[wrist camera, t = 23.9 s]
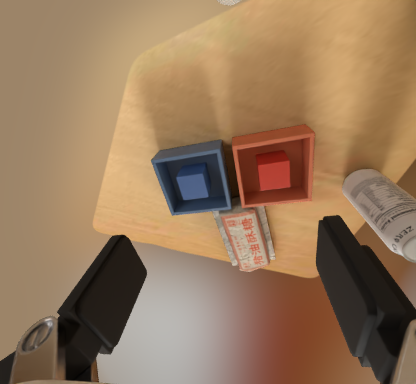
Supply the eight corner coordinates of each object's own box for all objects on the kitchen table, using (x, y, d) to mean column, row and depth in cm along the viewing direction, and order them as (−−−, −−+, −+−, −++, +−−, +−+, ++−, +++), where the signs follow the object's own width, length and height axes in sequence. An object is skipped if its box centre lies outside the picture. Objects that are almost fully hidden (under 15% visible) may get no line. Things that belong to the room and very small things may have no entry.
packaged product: (206, 216, 36) (263, 206, 34) (209, 201, 40) (260, 190, 38) (232, 278, 45) (279, 273, 42) (232, 260, 49) (275, 255, 47)
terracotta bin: (232, 137, 34) (231, 146, 30) (305, 124, 31) (314, 132, 27) (241, 194, 39) (242, 208, 35) (303, 186, 37) (311, 200, 33)
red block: (255, 154, 34) (257, 165, 30) (283, 149, 33) (289, 160, 29) (257, 177, 36) (260, 190, 32) (284, 174, 35) (290, 187, 32)
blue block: (182, 165, 37) (175, 177, 33) (206, 161, 36) (202, 173, 32) (188, 187, 39) (183, 200, 35) (211, 184, 38) (208, 197, 34)
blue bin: (159, 150, 36) (150, 160, 32) (221, 139, 34) (219, 148, 30) (177, 202, 42) (171, 215, 38) (232, 195, 39) (231, 209, 36)
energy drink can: (346, 202, 37) (403, 272, 25) (334, 177, 35) (390, 240, 22) (383, 187, 35) (467, 256, 22) (373, 159, 33) (461, 218, 20)
